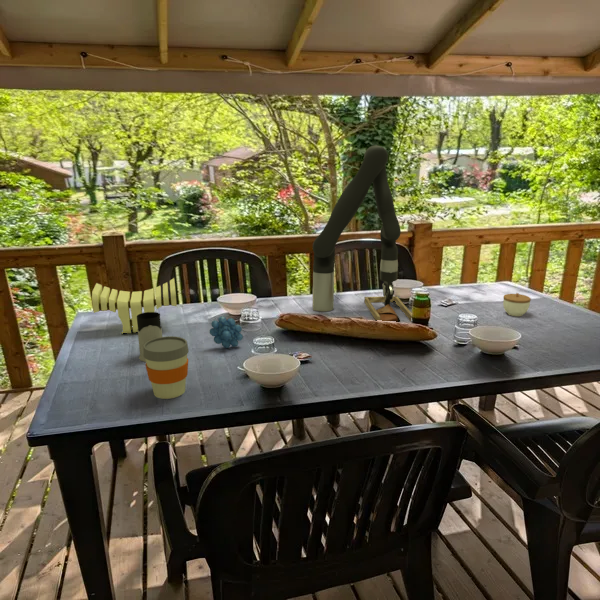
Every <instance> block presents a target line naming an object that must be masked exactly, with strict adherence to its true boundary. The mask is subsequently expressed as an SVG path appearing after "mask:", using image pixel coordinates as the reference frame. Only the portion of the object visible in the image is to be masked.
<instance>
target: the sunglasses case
mask: <svg viewBox="0 0 600 600" xmlns="http://www.w3.org/2000/svg"><path fill="white" fill-rule="evenodd" d="M375 310H376V311H377V313H378V314H379V316H380V320H382V321H396V322H400V323H401V319H400V317H399V316H398V313H397V312H396V311H395V309H394V308H393V307H392V306H391V304H390V305H389V304H387V305H386V306H385V305H384V306H382V307H380V308H378V309H375Z"/></svg>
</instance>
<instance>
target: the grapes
mask: <svg viewBox="0 0 600 600" xmlns="http://www.w3.org/2000/svg"><path fill="white" fill-rule="evenodd" d="M210 324H211V327H212V328H210V329H209V334H210V335H211V336H212V337H213V342H214V343H215V344H217V345H220V344H221V346H222V347H223V348H225V349H228V348H230V347H234V348H236V347H238V345H239V342H241V341H242V340H243V339H244V336H243V333H241V332H242V330H243V328H242V326H241V325H240V324H237V323H236V320H235V319H234V318H232V317H229V318H228V319H227V318H226V317H225V316H219V317H218V319H217V320H212V321H211V323H210Z"/></svg>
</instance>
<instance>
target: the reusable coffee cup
mask: <svg viewBox="0 0 600 600" xmlns="http://www.w3.org/2000/svg"><path fill="white" fill-rule="evenodd" d="M189 352H190V351H189V346H188V341H187V340H186V339H185V338H183V337H180V336H170V335H169V336H162V337H160V338H155V339H152V340H150V341H148V342H146V343H145V344H144V349H143V356H144V358H145V359H146V362H145V364H144V365H145V369H146V373H147V378H148V380H149V382H150V383H151V388H152V392H153V395H154V396H155V397H156V398H157V399H163V400H165V399H166V400H167V399H175V398H178V397H180V396H182V395H183V394H184V393H185V392H186V382H187V381H186V379H187V377H188V373H189V371H188V370H189V358H188V354H189Z"/></svg>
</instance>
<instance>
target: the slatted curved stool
mask: <svg viewBox="0 0 600 600" xmlns="http://www.w3.org/2000/svg"><path fill="white" fill-rule="evenodd" d="M175 282H176V281H175V277H173V278H172V279H170V280H169V285H168V282H165V283H163V284H162V287H161V285H159V286H156V287H155V288H153V287H152V288H149V289H146V290H144V291H142V290H139V291H132V293H131V291H125V290H119V292H118V289H114V288H112V289H111V288H110V287H107V286H103V285H102V284H100V283H98V282H96V283H95V285H94V288H93V289H92V292H91V300H92V301H91V302H92V310H93V314H94V313H98V312H99V313H100V310H101V311H103V312H104V311H108V310H109V311H110V312H113V313H116V311H117V315H118V318H119V319H120V322H121V324H122V329H123V332H122V331H121V333H122V334H121V335H124V334H123V333H127V334H132V333H131V330H132V332H133V333H134V334H136V332H138V330H137V329H138V325H137V315H139V314H141V313H145V312H156V310H158V309H160V308H162V305H163V307H167V306H170V305H171V307H178V305H177V293H176V283H175ZM169 291H170V297H169ZM162 297H163V298H162ZM155 306H156V308H155ZM155 309H156V310H155ZM130 314H131V315H130ZM132 326H133V327H132Z"/></svg>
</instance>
